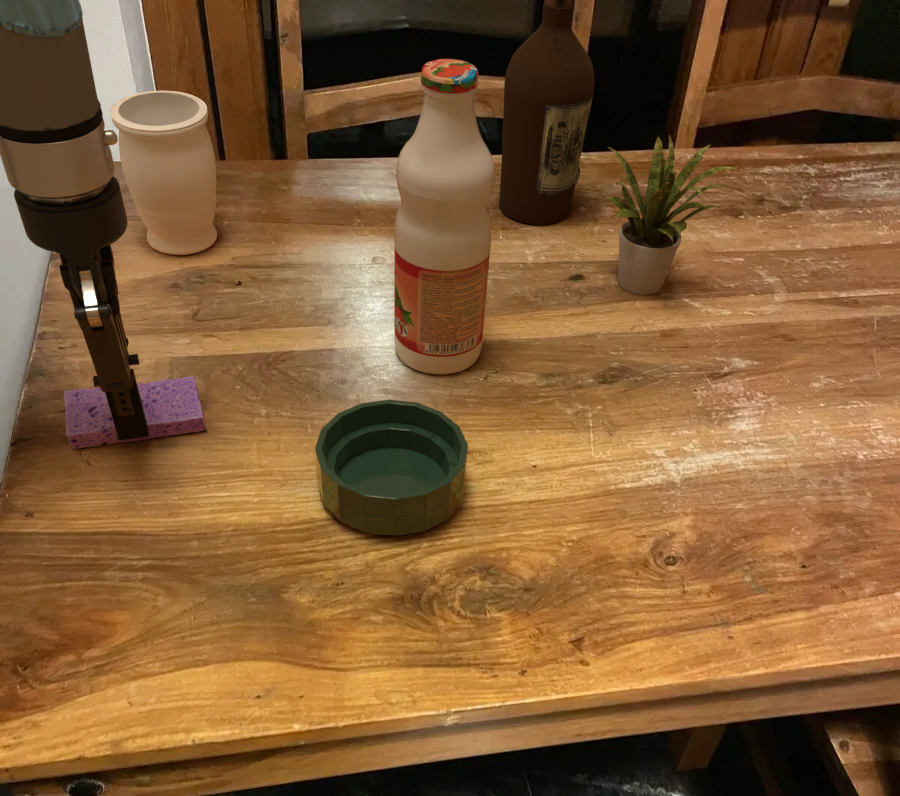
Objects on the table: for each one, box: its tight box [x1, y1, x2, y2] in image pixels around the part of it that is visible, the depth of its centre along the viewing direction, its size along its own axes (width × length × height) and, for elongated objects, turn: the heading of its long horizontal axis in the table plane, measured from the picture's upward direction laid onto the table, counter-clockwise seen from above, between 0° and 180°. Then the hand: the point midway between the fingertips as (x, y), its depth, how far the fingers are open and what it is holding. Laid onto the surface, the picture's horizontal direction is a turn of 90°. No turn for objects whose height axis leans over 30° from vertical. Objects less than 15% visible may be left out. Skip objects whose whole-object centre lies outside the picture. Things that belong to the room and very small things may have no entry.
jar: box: [110, 90, 218, 256], centre depth 107 cm, size 11×10×15 cm
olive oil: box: [498, 0, 595, 226], centre depth 113 cm, size 11×11×25 cm
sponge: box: [63, 375, 207, 450], centre depth 90 cm, size 7×13×2 cm, turn 106°
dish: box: [314, 399, 469, 537], centre depth 84 cm, size 13×13×5 cm
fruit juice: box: [393, 58, 496, 375], centre depth 90 cm, size 9×9×28 cm
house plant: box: [605, 134, 741, 296], centre depth 104 cm, size 14×14×16 cm
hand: (133, 433), depth 87 cm, fingers closed
